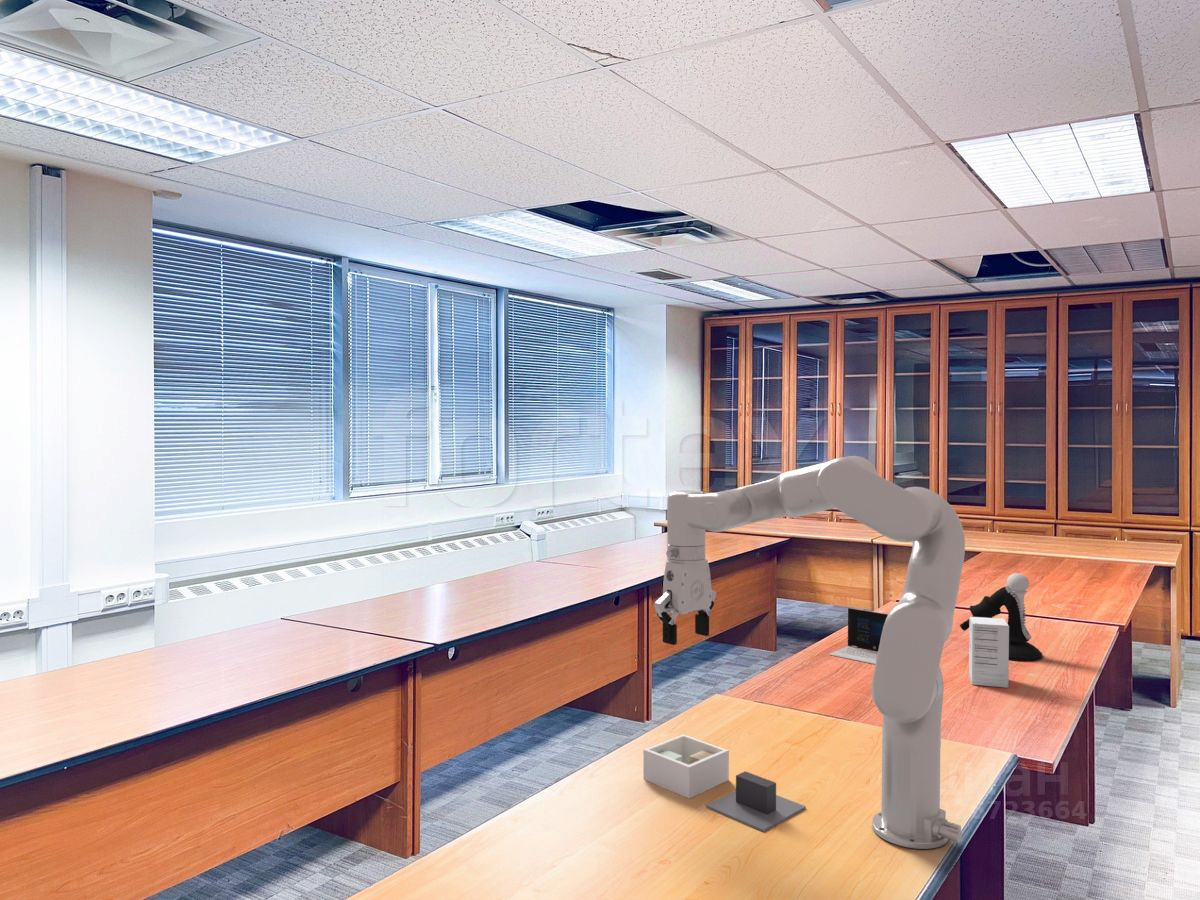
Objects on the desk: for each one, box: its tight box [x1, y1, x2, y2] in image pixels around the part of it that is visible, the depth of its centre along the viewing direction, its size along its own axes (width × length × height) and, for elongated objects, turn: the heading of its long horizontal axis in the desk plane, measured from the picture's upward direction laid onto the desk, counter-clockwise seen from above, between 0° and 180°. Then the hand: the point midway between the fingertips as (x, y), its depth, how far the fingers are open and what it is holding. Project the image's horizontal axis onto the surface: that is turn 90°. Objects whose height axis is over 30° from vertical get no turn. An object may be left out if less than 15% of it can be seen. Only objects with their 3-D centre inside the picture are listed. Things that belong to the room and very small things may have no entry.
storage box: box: [643, 733, 730, 799], centre depth 169 cm, size 12×12×6 cm
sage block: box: [659, 750, 683, 762], centre depth 169 cm, size 4×4×4 cm
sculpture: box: [959, 572, 1043, 662], centre depth 261 cm, size 15×24×25 cm, turn 49°
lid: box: [705, 770, 807, 833], centre depth 156 cm, size 13×13×6 cm
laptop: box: [828, 607, 889, 665], centre depth 257 cm, size 18×12×13 cm
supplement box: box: [968, 616, 1010, 689], centre depth 231 cm, size 10×9×17 cm
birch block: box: [690, 751, 713, 764], centre depth 169 cm, size 4×4×4 cm
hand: (686, 639), depth 168 cm, fingers open, 9 cm apart
